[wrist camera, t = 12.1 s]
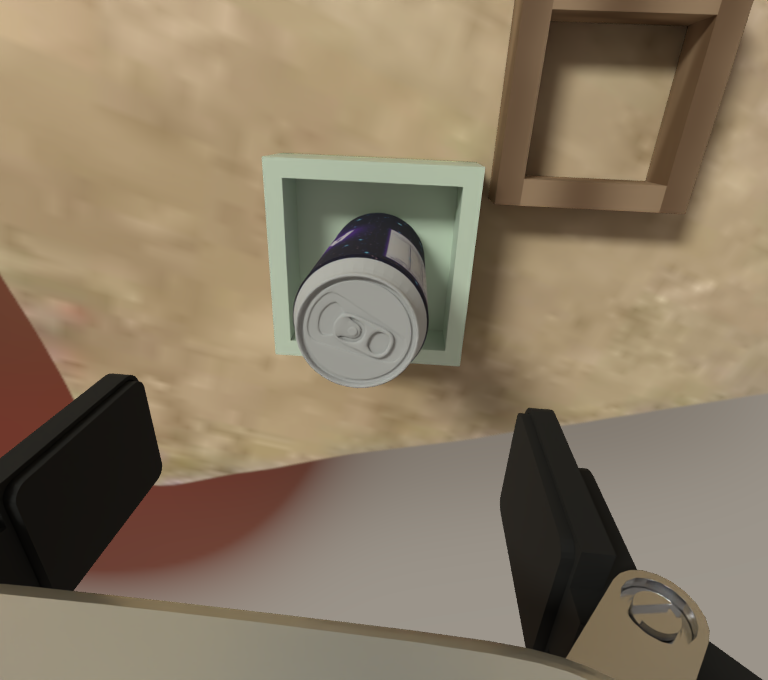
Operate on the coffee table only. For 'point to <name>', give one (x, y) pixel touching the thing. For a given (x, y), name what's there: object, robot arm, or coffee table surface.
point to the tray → (374, 195)
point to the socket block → (681, 117)
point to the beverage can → (364, 303)
